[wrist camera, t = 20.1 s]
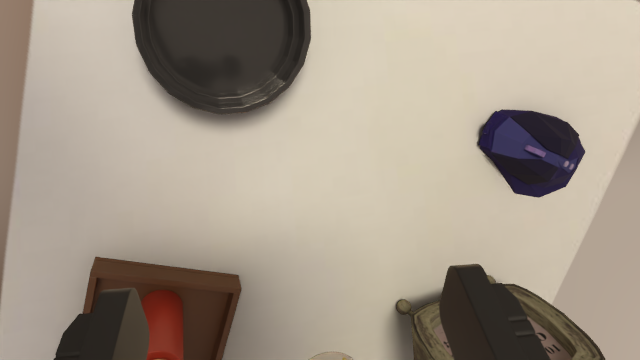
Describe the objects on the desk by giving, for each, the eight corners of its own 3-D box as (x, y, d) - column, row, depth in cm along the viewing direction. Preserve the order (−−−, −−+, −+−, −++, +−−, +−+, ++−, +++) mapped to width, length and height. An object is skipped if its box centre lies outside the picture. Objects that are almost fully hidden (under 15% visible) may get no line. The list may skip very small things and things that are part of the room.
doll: (150, 331, 46) (141, 434, 35) (131, 300, 45) (115, 397, 33) (189, 314, 47) (192, 410, 36) (172, 282, 45) (169, 372, 34)
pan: (180, 126, 41) (180, 138, 37) (107, -30, 36) (98, -35, 32) (317, 72, 43) (331, 78, 39) (266, -84, 38) (276, -96, 34)
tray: (200, 413, 52) (201, 433, 49) (66, 410, 47) (60, 431, 45) (238, 275, 48) (241, 288, 45) (95, 256, 43) (90, 270, 41)
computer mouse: (553, 209, 56) (579, 223, 52) (455, 169, 50) (476, 181, 47) (594, 136, 54) (624, 145, 50) (497, 86, 48) (522, 93, 45)
